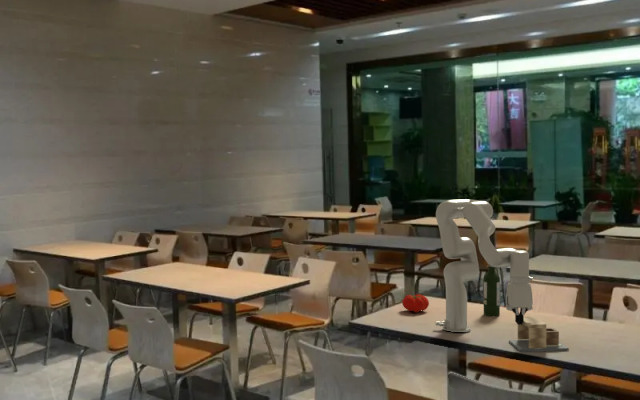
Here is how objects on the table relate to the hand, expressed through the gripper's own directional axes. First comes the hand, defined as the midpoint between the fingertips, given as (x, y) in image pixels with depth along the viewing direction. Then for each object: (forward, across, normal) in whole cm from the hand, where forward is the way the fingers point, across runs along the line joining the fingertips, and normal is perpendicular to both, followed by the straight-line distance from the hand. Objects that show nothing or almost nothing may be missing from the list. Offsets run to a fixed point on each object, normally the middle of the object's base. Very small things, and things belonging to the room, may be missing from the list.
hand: (519, 323), depth 278 cm
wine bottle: (+10, -5, -59) cm, 60 cm away
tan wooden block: (+8, -5, 0) cm, 10 cm away
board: (+10, -8, 0) cm, 13 cm away
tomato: (+10, +32, -69) cm, 77 cm away
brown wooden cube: (+8, -12, 0) cm, 15 cm away
